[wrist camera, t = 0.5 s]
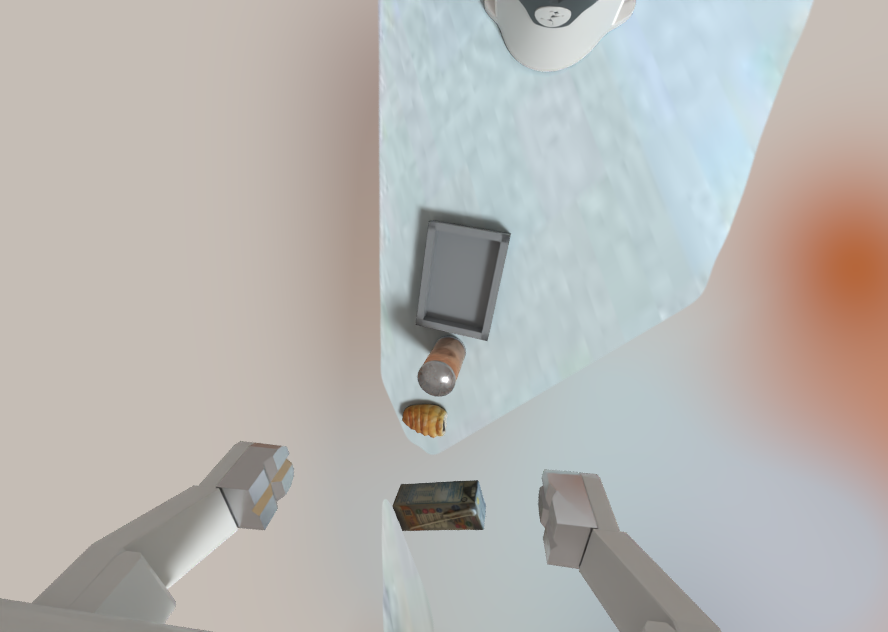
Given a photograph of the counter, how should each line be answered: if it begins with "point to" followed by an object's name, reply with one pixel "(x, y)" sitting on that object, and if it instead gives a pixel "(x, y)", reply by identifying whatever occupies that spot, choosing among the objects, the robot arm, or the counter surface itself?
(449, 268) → the tray
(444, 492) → the beverage carton
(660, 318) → the counter surface
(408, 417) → the pastry
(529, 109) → the counter surface
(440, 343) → the tin can
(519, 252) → the counter surface
